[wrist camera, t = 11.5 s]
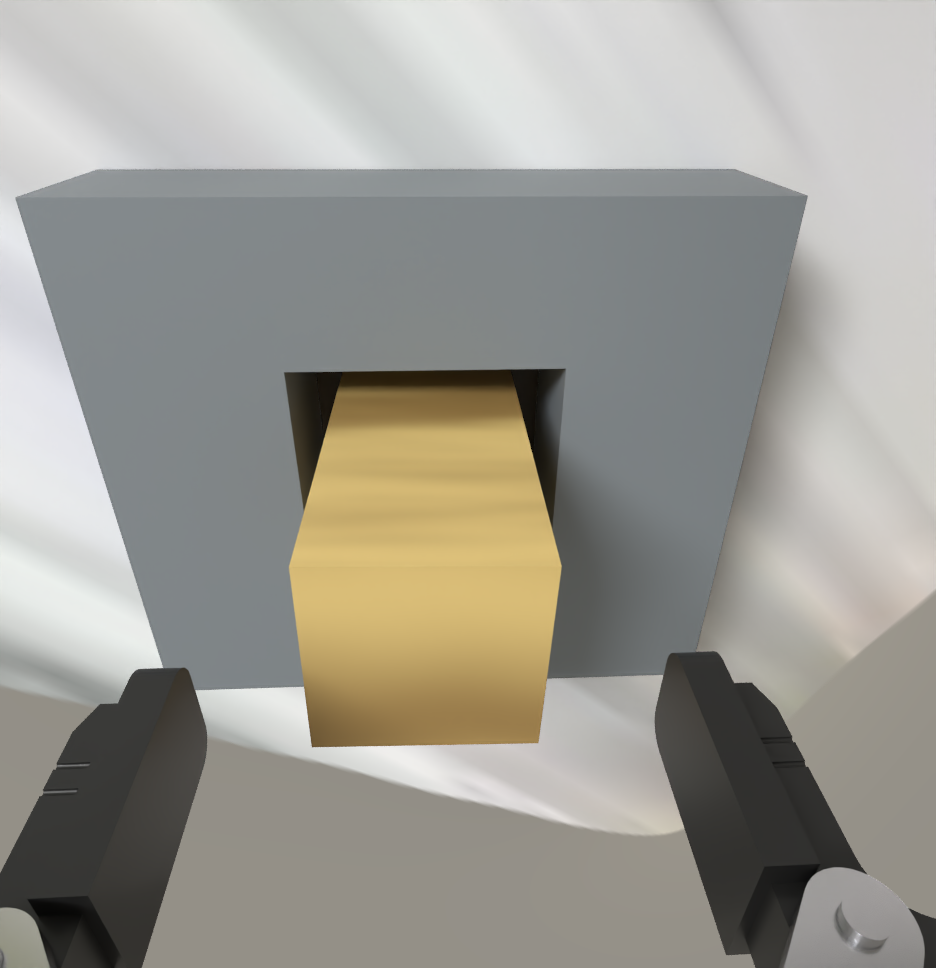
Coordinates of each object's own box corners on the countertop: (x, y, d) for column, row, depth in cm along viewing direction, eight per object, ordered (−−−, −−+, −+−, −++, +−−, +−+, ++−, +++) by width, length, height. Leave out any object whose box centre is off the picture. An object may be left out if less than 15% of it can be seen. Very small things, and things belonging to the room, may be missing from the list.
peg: (348, 348, 20) (288, 567, 11) (505, 350, 20) (561, 566, 12) (357, 482, 22) (311, 746, 14) (497, 483, 22) (538, 743, 14)
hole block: (97, 169, 17) (15, 197, 14) (735, 169, 18) (807, 196, 14) (206, 602, 24) (170, 691, 21) (655, 590, 25) (690, 673, 22)
